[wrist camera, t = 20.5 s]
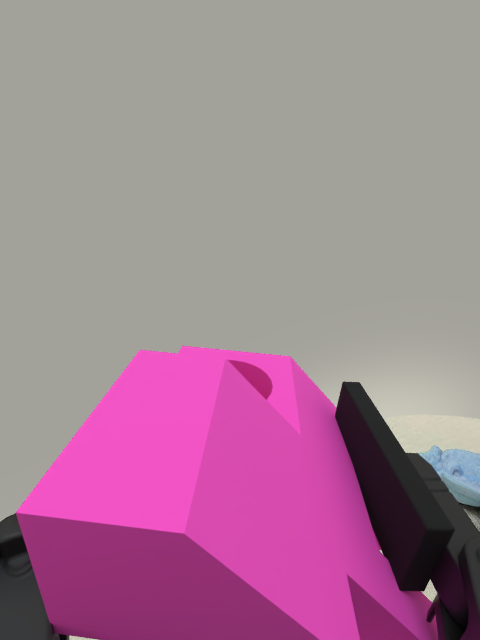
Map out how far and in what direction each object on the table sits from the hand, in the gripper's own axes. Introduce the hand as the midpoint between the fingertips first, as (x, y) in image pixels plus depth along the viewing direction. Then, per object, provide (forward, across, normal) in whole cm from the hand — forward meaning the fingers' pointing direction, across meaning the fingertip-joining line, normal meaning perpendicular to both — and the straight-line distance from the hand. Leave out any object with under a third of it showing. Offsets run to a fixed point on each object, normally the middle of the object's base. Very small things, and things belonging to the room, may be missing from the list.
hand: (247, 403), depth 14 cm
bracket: (-4, +2, -6) cm, 8 cm away
